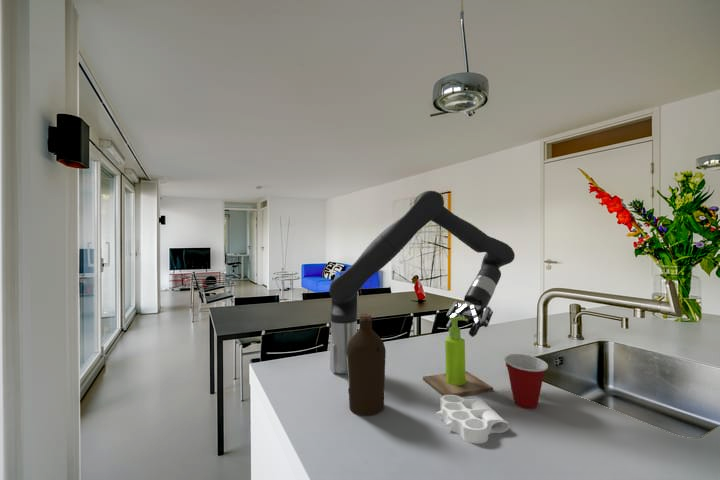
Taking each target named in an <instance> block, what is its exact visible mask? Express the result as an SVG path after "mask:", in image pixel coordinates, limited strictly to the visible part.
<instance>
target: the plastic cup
mask: <svg viewBox="0 0 720 480" xmlns="http://www.w3.org/2000/svg"><path fill="white" fill-rule="evenodd" d="M503 360H504V362H505V364H506V368H507V371H508V378H509V384H510V389H511V393H512V398H513V402H514V404H515V405H517V406H518V407H520V408H523V409H531V410H532V409H536V408H537V407H538V405H539V400H540V395H541V390H542V385H543V379H544V376H545V373H546V371H547V370H548V368H549V365H548V363H547V362H546V361H544V360H543V359H541V358H538V357H535V356H532V355H529V354H528V355H527V354H523V353H522V354H521V353H512V354H508V355H505V356H504V358H503Z"/></svg>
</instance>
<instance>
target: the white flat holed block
mask: <svg viewBox="0 0 720 480" xmlns="http://www.w3.org/2000/svg"><path fill="white" fill-rule="evenodd" d="M439 408H440V410H439V411H437V412H435V414H436V415H438V416H440V417H441V419H442V422H444V423H445V427H447V429H449V430H450V431H452V432H454V433H455V434H458V435H460V436H461V438H462V439H463V441H465V442H468V443H471V444H484V443H486V442H488V440H489V435H490V434H502V433H505V432H507V431H508V430H509V429H510V424H509V421H506V420H505V419H503V417H502V416H500V415H499V414H498V413H497V411H496V410H494V409H492V408H491V407H490V406H489V405H488V404H487V402H486V401H484V400H483V399H480V398H464V397H463V396H457V395H444V396H442V395H441V396H440V397H439Z"/></svg>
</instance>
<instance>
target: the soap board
mask: <svg viewBox="0 0 720 480" xmlns="http://www.w3.org/2000/svg"><path fill="white" fill-rule="evenodd" d="M465 378H466V383H465V384H464V385H451V384H449V383H447V382H446V373H440V374H439V373H438V374H432V375H425V376H422V381H424V382H425V383H426V384H428V386H430V387H431V388H432V389H433V390H435V391H436V393H438V394H440V395H441V397H442V396H444V395H457V396H460V397H463V396H468V395H474V394H475V395H476V394H482V393H487V392H494V386H492V385H490V384H489V383H486V382H485V381H483V380H481V379H480V378H478V377H476V376H475V375H473V374H472V373H471V372H468V371H467V370H465Z"/></svg>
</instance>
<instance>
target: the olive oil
mask: <svg viewBox="0 0 720 480" xmlns="http://www.w3.org/2000/svg"><path fill="white" fill-rule="evenodd" d="M358 321H359V324H358V325H359V328H358V329H357V333H356V334H355V335H354V336H353V337H352V338H351V339H350V341H349V343H348V346H347V352H346V354H347V368H348V374H347V383H348V389H347V390H348V391H347V392H348V402H349V409H350V411H351V412H352V413H354V414H356V415H359V416H374V415H377V414H380V413H381V412H383V410H384V409H385V383H386V382H385V381H386V379H385V377H386V375H385V373H386V357H387V356H386V353H387V352H386V347H385V343H384V341H383V339H382V338H381V337H380V336H379V335H378V334H377V333H376V332H375V331H374V329H373V327H372V326H373V320H372V314H369V313H362V314H360V315H359V320H358Z"/></svg>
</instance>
